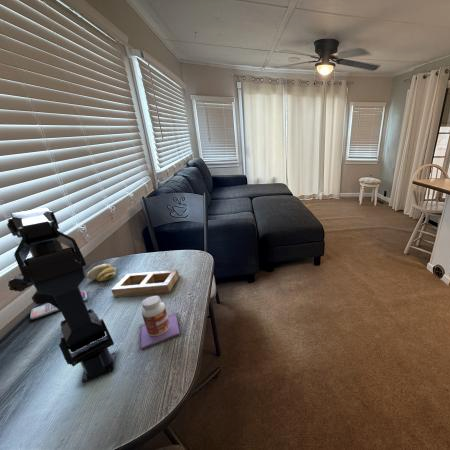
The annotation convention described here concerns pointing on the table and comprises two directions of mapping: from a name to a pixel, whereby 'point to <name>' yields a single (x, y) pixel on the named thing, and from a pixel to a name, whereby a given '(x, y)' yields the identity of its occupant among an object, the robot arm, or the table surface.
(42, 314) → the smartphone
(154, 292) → the bottle rack
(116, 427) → the table surface
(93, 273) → the yellow banana bunch
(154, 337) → the mat
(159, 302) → the pill bottle
